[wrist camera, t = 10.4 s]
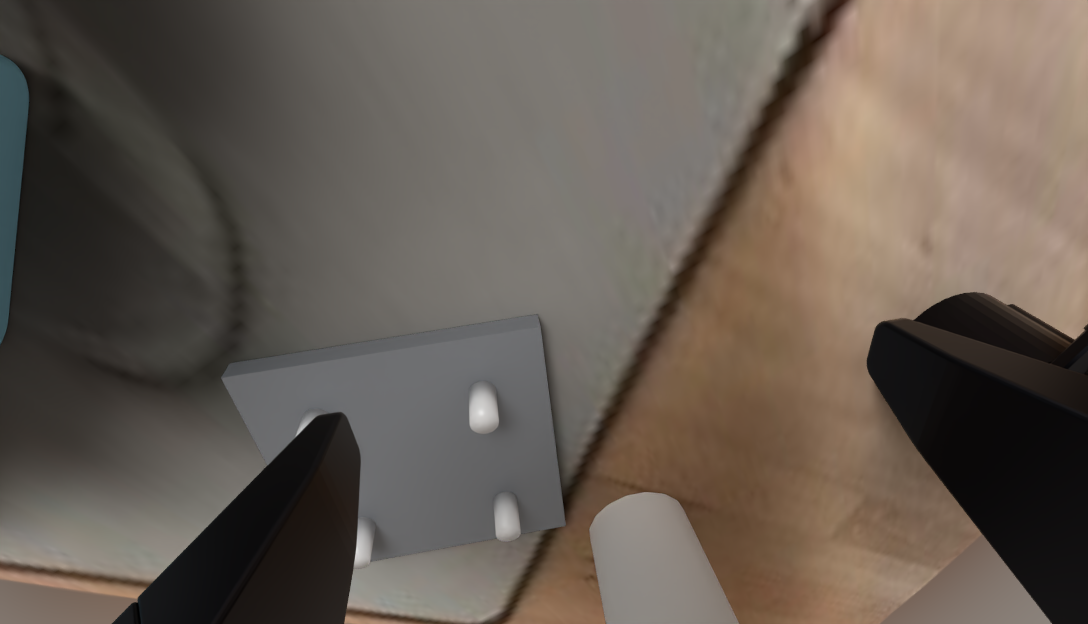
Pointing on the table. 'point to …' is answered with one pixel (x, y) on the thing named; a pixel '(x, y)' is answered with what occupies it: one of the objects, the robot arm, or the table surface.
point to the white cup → (654, 565)
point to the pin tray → (424, 430)
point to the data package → (10, 172)
